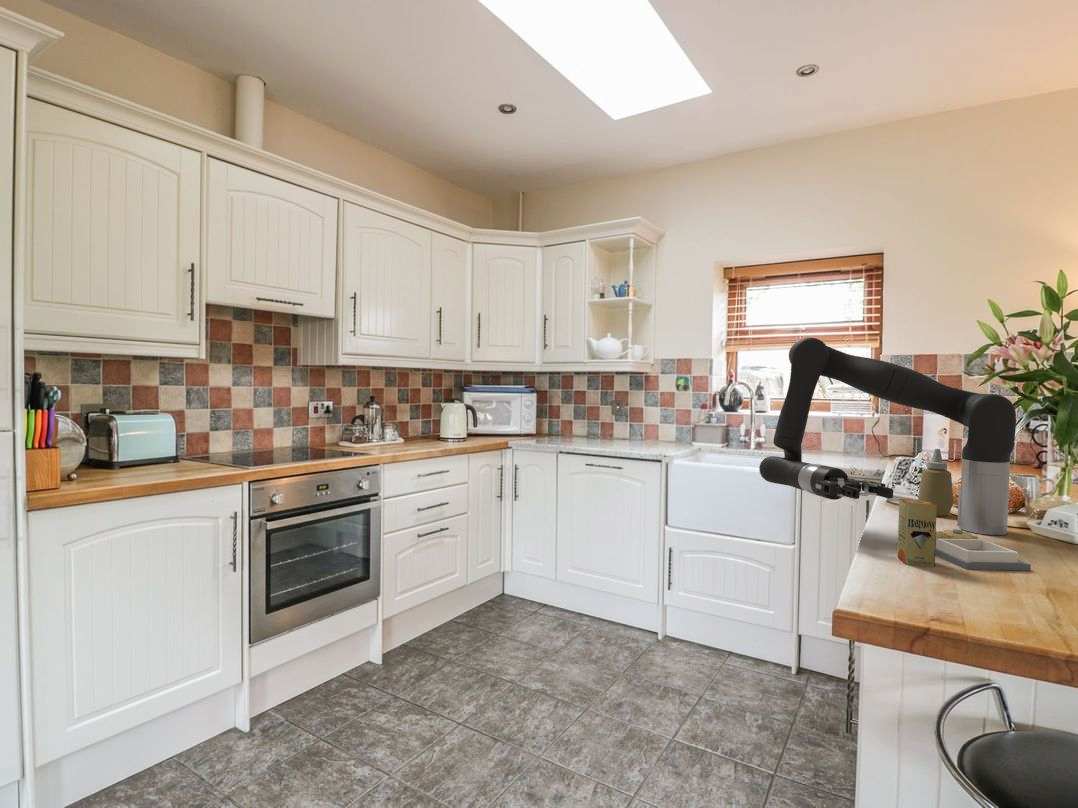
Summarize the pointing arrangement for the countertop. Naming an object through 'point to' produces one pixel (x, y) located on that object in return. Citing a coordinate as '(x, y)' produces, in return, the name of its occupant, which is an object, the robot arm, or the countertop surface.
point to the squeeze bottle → (937, 485)
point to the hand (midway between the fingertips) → (875, 494)
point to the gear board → (974, 565)
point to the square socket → (989, 553)
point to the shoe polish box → (917, 532)
